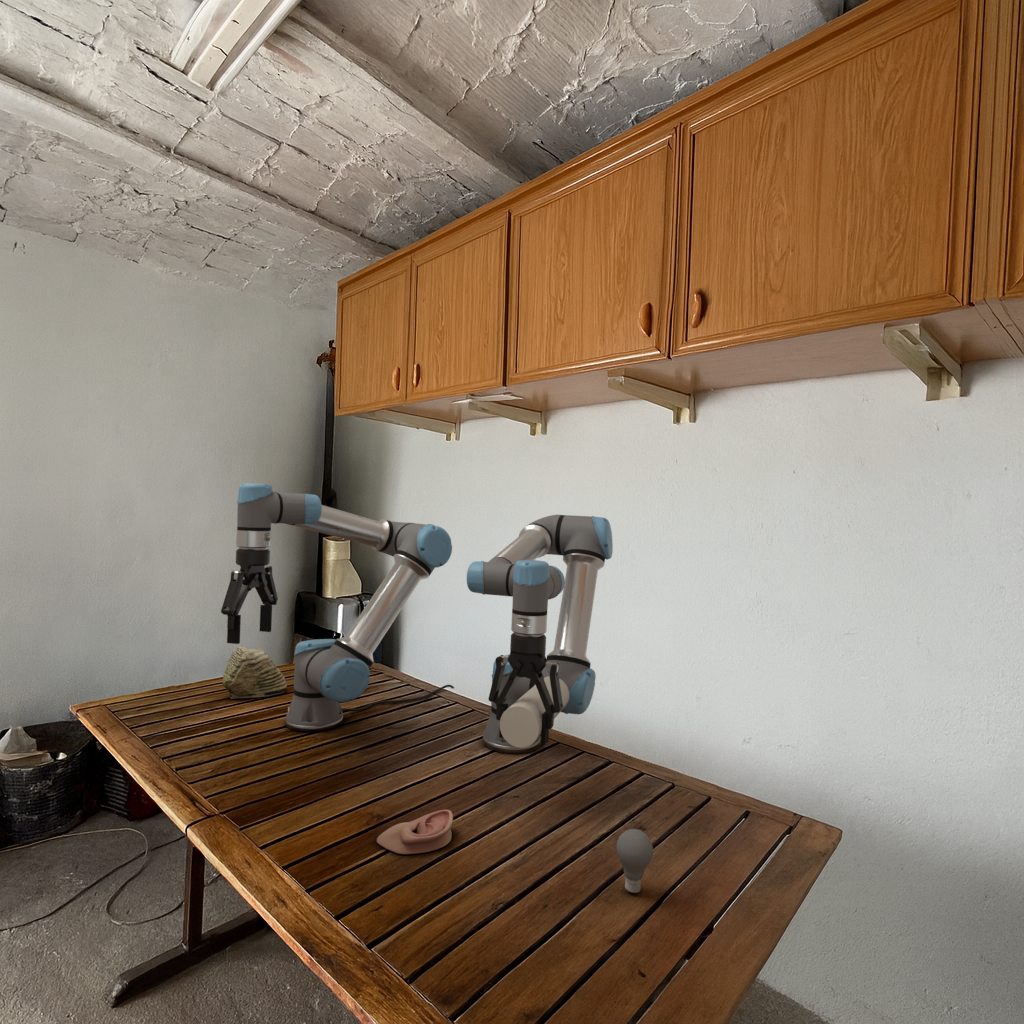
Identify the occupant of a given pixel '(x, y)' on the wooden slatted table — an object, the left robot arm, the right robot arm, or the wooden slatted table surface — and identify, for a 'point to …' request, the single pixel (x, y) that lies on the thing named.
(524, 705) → the rod
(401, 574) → the left robot arm
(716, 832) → the wooden slatted table surface
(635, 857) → the light bulb
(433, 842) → the anatomical model
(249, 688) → the fossil
